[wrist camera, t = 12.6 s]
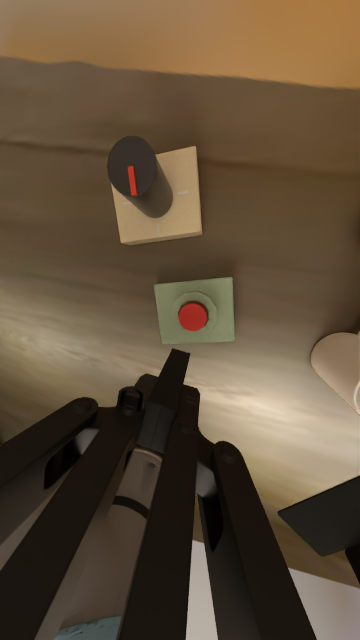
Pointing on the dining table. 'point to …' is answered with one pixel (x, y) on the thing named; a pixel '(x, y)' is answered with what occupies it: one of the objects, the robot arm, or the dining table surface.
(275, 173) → the dining table surface
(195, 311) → the button
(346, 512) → the table lamp
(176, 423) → the robot arm
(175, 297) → the switch box
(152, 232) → the dimmer panel
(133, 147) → the dimmer knob
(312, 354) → the cup
